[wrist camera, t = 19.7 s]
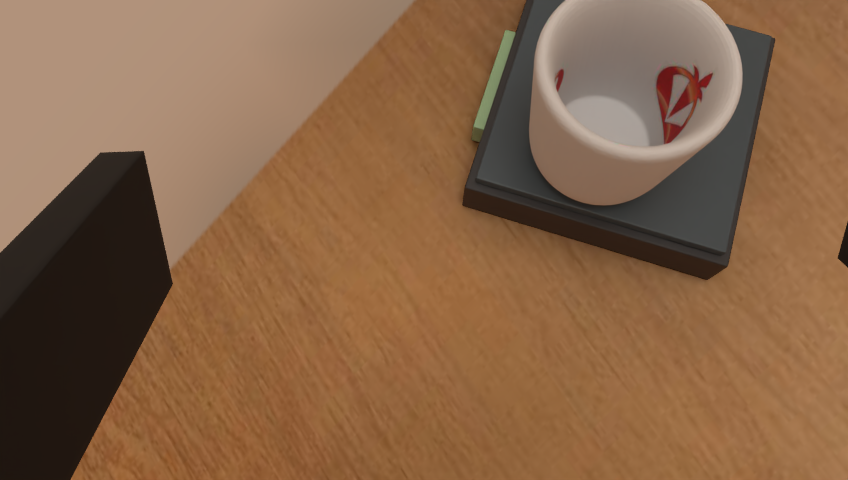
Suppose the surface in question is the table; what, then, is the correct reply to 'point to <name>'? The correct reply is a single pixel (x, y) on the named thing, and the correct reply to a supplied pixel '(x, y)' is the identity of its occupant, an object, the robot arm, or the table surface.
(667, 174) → the cup
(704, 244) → the kitchen scale
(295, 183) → the table surface
